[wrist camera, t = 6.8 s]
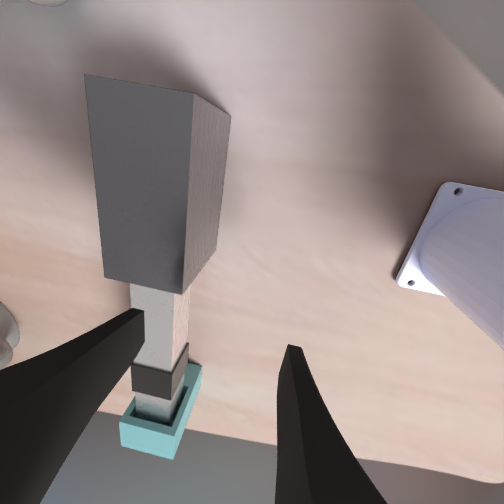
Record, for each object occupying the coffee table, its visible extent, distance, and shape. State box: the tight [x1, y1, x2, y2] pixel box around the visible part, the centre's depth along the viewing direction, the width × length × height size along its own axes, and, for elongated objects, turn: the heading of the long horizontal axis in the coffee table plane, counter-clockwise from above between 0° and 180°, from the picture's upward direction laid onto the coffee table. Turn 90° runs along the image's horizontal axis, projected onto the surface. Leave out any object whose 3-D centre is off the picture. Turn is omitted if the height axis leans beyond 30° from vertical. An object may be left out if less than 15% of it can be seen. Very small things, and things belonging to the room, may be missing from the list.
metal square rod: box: [130, 283, 191, 427], centre depth 18 cm, size 3×20×3 cm, turn 170°
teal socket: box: [119, 362, 202, 460], centre depth 23 cm, size 5×4×7 cm
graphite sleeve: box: [84, 74, 231, 295], centre depth 15 cm, size 5×10×7 cm, turn 170°
